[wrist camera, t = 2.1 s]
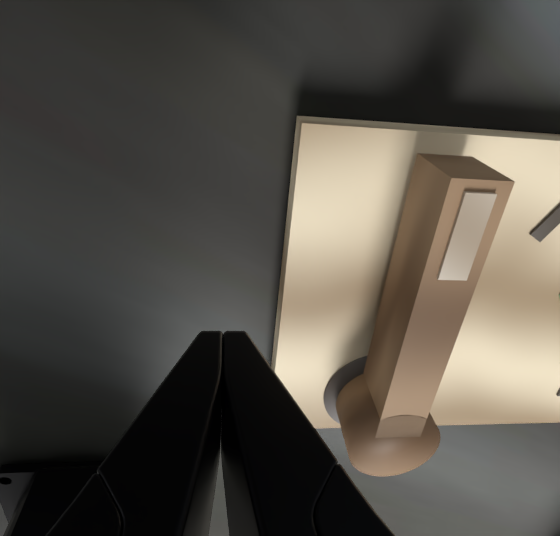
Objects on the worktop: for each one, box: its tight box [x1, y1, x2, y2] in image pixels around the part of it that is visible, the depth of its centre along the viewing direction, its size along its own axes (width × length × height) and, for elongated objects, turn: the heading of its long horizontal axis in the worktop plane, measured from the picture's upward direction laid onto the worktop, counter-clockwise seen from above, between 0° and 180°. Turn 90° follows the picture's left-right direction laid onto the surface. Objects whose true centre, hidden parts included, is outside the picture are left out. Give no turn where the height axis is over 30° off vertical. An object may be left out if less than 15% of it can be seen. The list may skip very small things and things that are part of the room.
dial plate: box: [271, 116, 560, 428], centre depth 16 cm, size 12×18×1 cm, turn 85°
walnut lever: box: [336, 153, 515, 476], centre depth 14 cm, size 11×3×2 cm, turn 175°
